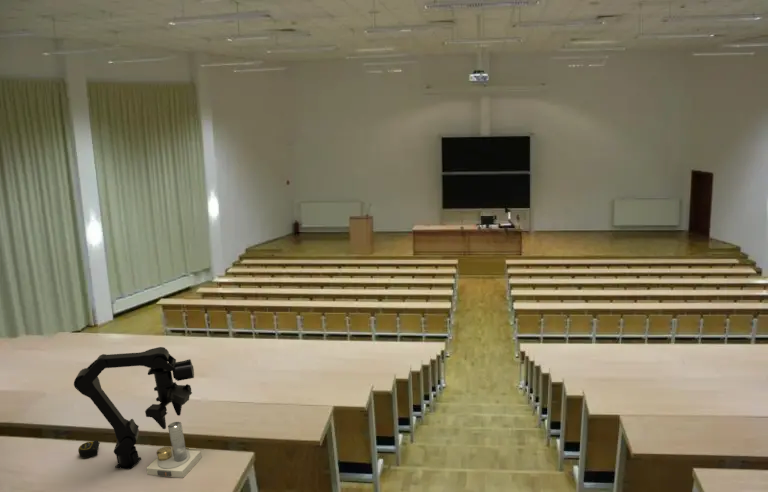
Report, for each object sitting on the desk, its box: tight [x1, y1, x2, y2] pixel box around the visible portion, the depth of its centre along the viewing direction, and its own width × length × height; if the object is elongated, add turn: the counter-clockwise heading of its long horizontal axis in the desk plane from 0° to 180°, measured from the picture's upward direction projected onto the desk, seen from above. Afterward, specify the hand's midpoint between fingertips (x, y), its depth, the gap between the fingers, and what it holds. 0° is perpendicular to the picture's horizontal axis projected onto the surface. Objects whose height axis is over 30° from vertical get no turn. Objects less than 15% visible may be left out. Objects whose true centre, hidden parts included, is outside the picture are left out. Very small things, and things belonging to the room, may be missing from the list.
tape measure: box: [78, 440, 101, 459], centre depth 222 cm, size 7×7×4 cm
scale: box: [146, 448, 202, 479], centre depth 210 cm, size 14×13×3 cm
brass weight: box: [156, 446, 172, 461], centre depth 210 cm, size 5×5×2 cm
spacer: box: [167, 421, 187, 462], centre depth 207 cm, size 4×4×13 cm
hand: (171, 421), depth 214 cm, fingers open, 9 cm apart
